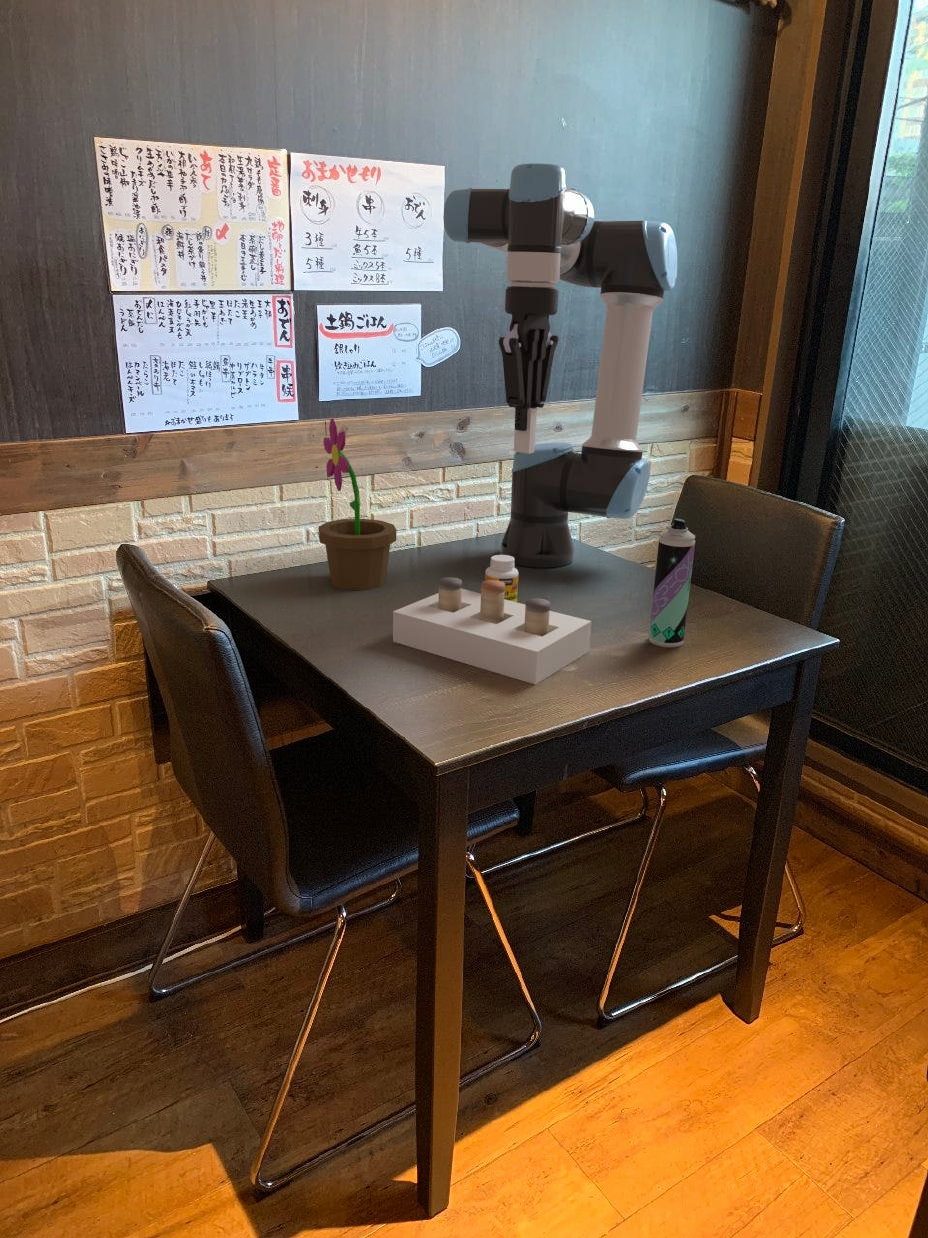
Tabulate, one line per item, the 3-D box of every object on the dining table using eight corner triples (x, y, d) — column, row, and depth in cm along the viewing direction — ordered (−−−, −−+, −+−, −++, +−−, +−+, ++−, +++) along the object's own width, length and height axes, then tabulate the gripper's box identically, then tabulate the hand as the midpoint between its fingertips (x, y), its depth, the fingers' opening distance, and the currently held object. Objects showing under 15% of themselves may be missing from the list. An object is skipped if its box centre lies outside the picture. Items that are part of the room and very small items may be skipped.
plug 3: (530, 652, 143) (533, 596, 140) (550, 658, 141) (554, 601, 138) (518, 659, 140) (521, 602, 137) (538, 665, 138) (542, 608, 135)
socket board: (453, 614, 158) (453, 586, 156) (589, 651, 144) (591, 621, 142) (393, 641, 145) (393, 611, 144) (535, 684, 132) (537, 651, 130)
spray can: (642, 637, 150) (654, 516, 144) (670, 633, 152) (684, 514, 145) (660, 649, 146) (674, 524, 139) (690, 645, 148) (705, 522, 141)
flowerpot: (308, 575, 176) (304, 414, 166) (379, 566, 183) (378, 411, 172) (334, 597, 164) (331, 426, 154) (408, 588, 171) (410, 422, 160)
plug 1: (446, 628, 151) (447, 575, 148) (464, 633, 149) (466, 580, 146) (433, 634, 148) (434, 581, 145) (451, 640, 147) (452, 585, 143)
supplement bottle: (496, 623, 155) (498, 564, 151) (477, 613, 159) (479, 555, 155) (522, 617, 157) (526, 559, 154) (503, 608, 162) (506, 551, 158)
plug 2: (487, 633, 147) (489, 578, 143) (506, 638, 145) (509, 583, 142) (474, 639, 144) (476, 584, 141) (494, 645, 142) (496, 589, 139)
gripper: (533, 284, 139) (525, 443, 147) (484, 283, 129) (478, 454, 137) (577, 286, 135) (567, 449, 143) (530, 285, 125) (522, 460, 133)
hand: (523, 451), depth 140 cm, fingers closed
